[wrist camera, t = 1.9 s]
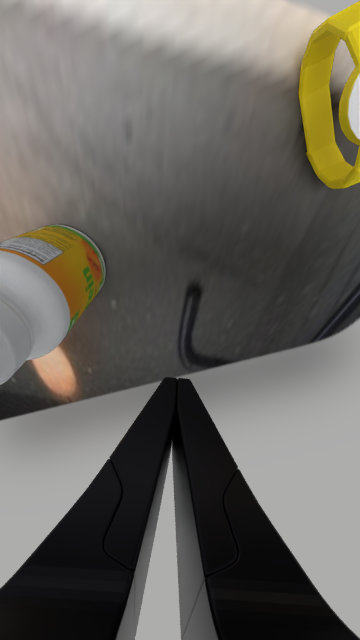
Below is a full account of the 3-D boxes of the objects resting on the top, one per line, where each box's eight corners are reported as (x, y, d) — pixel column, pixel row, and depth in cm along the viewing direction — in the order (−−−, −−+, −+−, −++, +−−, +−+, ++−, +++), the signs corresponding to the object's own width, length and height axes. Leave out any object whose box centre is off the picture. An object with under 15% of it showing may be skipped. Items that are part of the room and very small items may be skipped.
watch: (346, 167, 15) (431, 178, 10) (296, 188, 15) (352, 208, 10) (339, 23, 12) (458, -69, 7) (276, 57, 12) (343, -5, 7)
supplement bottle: (101, 308, 19) (33, 415, 11) (27, 288, 19) (-107, 385, 10) (113, 237, 17) (35, 307, 8) (27, 211, 16) (-152, 256, 8)
